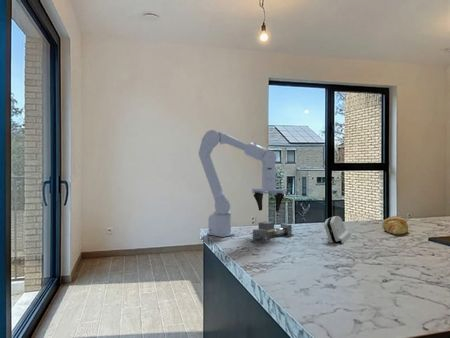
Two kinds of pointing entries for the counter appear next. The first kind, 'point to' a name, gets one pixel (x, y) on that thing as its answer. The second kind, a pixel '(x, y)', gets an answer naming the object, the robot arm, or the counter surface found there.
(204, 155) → the robot arm
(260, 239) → the shaft
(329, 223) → the hinge
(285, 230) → the shaft
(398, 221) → the bread loaf
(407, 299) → the counter surface
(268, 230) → the block
